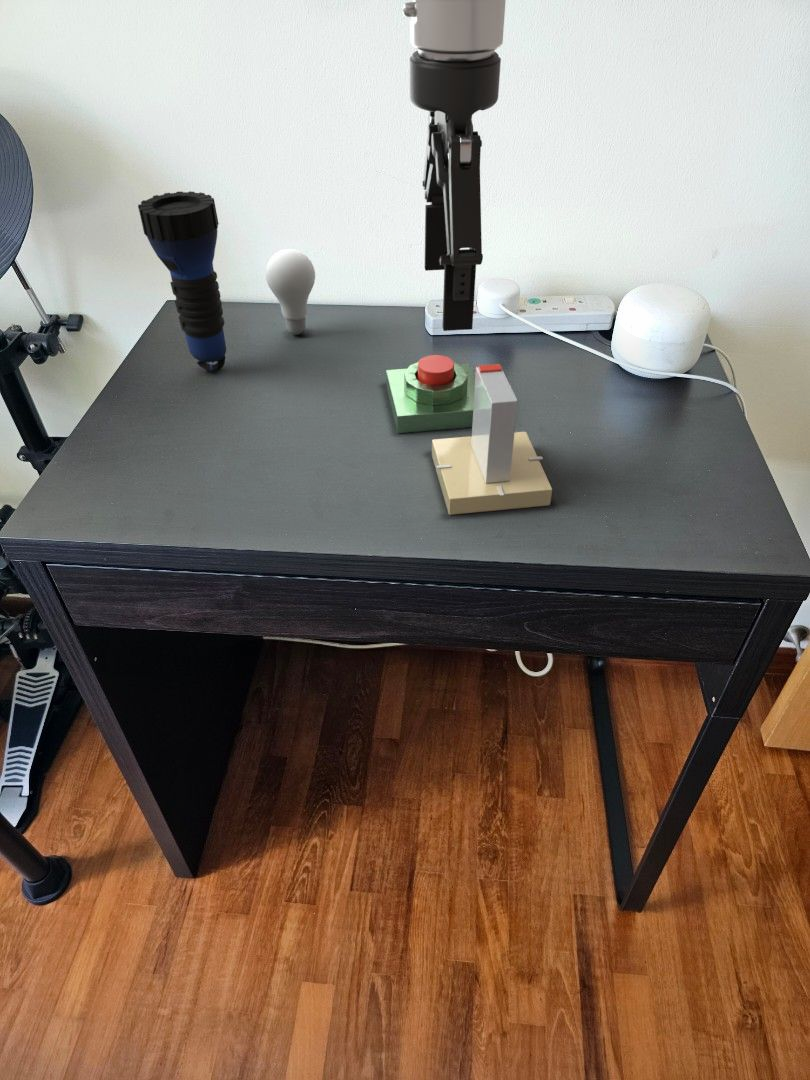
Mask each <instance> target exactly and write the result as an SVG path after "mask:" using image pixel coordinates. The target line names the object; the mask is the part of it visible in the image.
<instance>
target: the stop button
mask: <svg viewBox="0 0 810 1080" xmlns="http://www.w3.org/2000/svg"><path fill="white" fill-rule="evenodd" d="M417 362H418V380H419V381H420V382H422V383H423V384H428V385H433V386H435V385H446V384H448V383H450V382H452V381H453V379H454V360H453V359H452V358H450V357H449V356H444V355H442V354H441V355H440V354H432V355H431V354H430V355H425V356H423V357H422V358H420V359H419V360H418V361H417Z"/></svg>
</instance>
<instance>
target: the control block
mask: <svg viewBox="0 0 810 1080" xmlns="http://www.w3.org/2000/svg"><path fill="white" fill-rule="evenodd" d="M418 362H419V361H417V362H415V363H412V364H410V365H408V367H407V368H398V369H386V370H385V383H386V384H385V385H386V390H387V395H388V399H389V403H390V407H391V412H392V416H393V420H394V424H395V428H396V432H397V434H407V433H418V432H429V431H430V432H431V431H441V430H454V429H465V428H472V424H473V408H474V391H475V373H474V370H473V367H472V365H471V363H463V364H458V363H457V362H454V361H453V362H454V379H453V381H452V382H450V383H448V384H446V385H435V386H433V385H428V384H423V383H422V382H420V381H419V380H418Z"/></svg>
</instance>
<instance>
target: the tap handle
mask: <svg viewBox="0 0 810 1080" xmlns="http://www.w3.org/2000/svg"><path fill="white" fill-rule="evenodd" d="M474 375H475V391H474V408H473V424H472V427H471V436H472V441H471V446H472V448H473V451H474V454H475V456H476V459H477V462H478V464H479V467H480V470H481V472H482V475H483V477H484V480H485V483H494V482H504V481H510V472H511V463H512V453H513V443H514V433H515V432H516V422H517V413H518V403H519V401H518V398H517V396H516V394H515V393H514V392H515V391H514V390H513V387H512V386H511V384H510V382H509V380H508V378H507V376H506V374H505V372H504V370H503V368H502V366H501V364H500V363H495V364H494V363H493V364H483V365H482V364H480V365H479V364H478V365H477V366H476V367H475V373H474Z"/></svg>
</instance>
